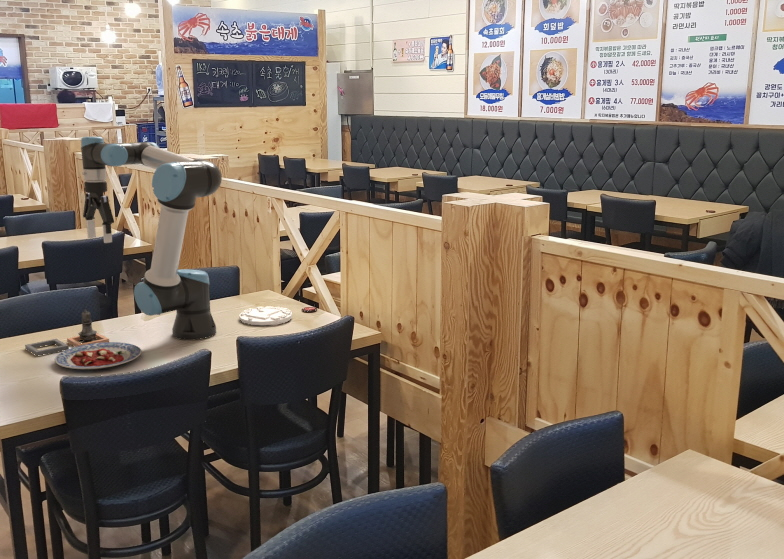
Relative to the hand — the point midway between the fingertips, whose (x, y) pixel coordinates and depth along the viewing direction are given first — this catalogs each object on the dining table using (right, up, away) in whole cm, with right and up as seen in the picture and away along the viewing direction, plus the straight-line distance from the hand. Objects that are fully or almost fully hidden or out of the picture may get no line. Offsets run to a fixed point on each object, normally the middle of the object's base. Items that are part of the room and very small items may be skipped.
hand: (99, 240), depth 275 cm
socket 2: (+2, -36, -14) cm, 39 cm away
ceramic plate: (+12, -40, -32) cm, 53 cm away
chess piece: (+2, -36, -14) cm, 39 cm away
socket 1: (-9, -37, -22) cm, 44 cm away
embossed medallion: (+57, -30, +17) cm, 67 cm away
